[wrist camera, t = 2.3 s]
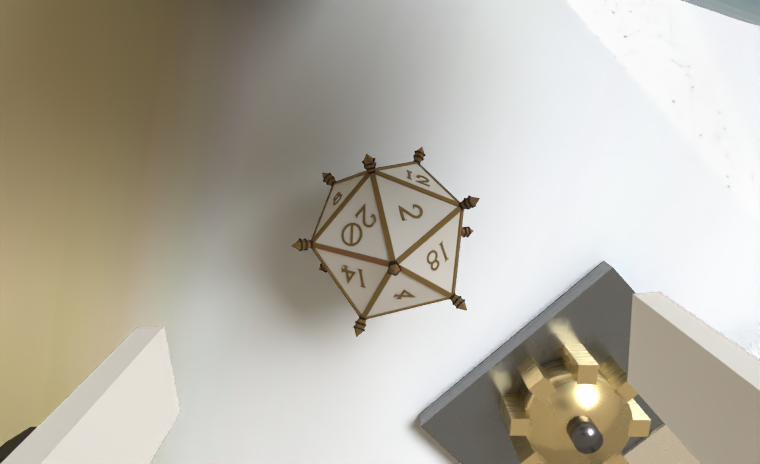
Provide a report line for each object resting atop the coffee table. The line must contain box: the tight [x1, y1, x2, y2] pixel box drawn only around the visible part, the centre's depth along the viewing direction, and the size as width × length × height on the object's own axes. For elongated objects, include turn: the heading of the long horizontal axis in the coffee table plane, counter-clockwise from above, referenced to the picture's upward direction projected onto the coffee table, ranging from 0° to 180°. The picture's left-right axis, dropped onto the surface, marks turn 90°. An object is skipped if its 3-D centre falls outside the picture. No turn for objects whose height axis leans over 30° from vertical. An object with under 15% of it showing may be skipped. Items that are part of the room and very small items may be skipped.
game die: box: [292, 147, 480, 337], centre depth 25 cm, size 9×8×10 cm
